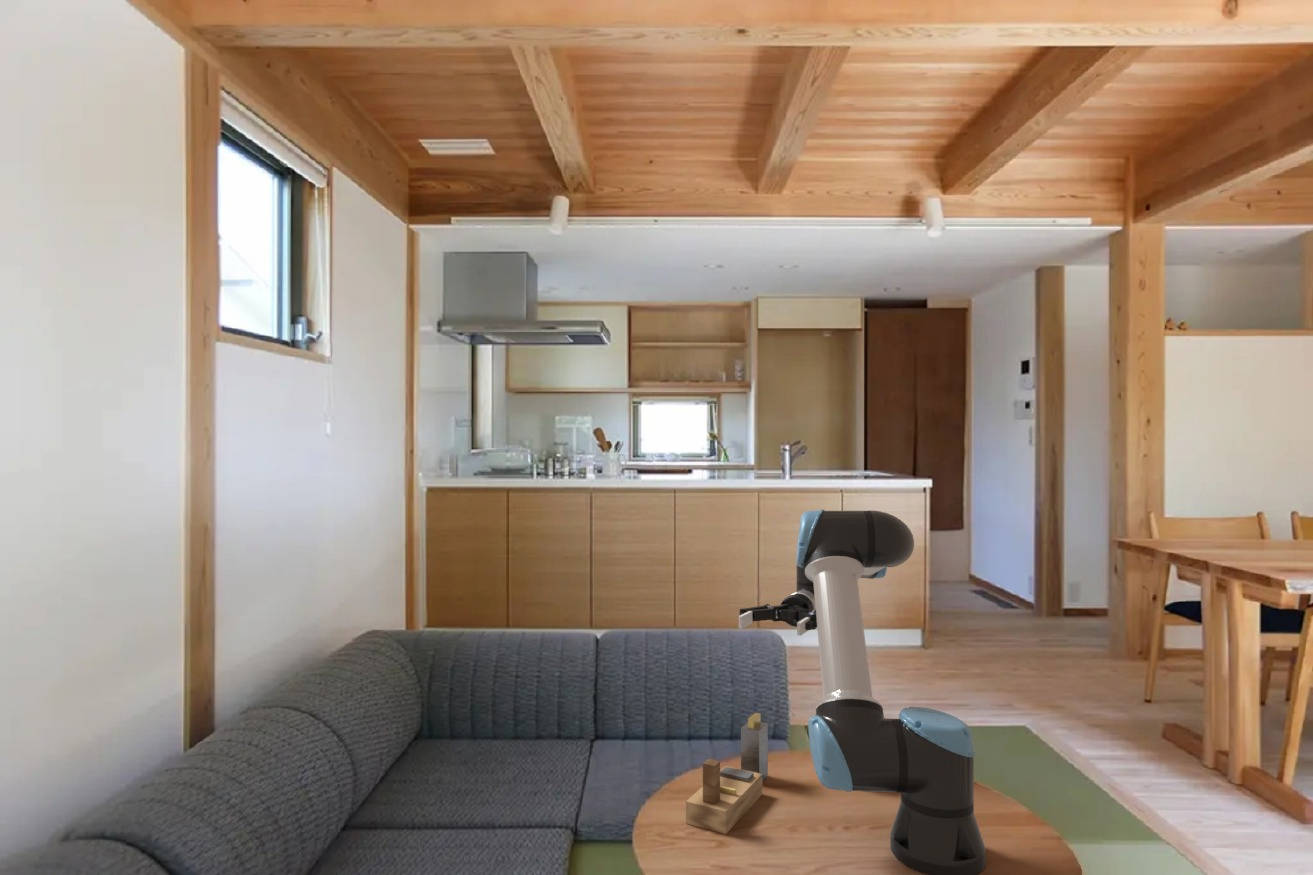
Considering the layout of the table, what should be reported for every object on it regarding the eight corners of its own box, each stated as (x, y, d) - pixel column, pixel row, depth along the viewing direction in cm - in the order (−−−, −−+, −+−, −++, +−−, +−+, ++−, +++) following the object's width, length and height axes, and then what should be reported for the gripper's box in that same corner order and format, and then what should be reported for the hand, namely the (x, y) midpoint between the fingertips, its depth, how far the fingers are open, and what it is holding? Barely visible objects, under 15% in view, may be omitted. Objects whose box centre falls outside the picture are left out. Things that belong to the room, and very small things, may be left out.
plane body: (762, 794, 150) (762, 738, 151) (726, 833, 135) (725, 771, 135) (725, 785, 154) (725, 731, 154) (685, 823, 138) (685, 762, 139)
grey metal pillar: (767, 776, 159) (767, 713, 159) (759, 785, 154) (759, 721, 155) (750, 772, 161) (749, 710, 161) (741, 781, 156) (740, 717, 157)
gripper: (850, 629, 178) (824, 649, 160) (751, 618, 190) (716, 636, 172) (850, 597, 179) (824, 614, 160) (751, 588, 191) (716, 603, 172)
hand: (768, 625), depth 166 cm, fingers open, 13 cm apart
